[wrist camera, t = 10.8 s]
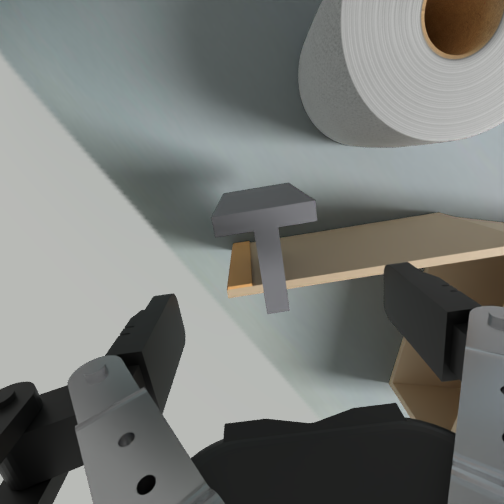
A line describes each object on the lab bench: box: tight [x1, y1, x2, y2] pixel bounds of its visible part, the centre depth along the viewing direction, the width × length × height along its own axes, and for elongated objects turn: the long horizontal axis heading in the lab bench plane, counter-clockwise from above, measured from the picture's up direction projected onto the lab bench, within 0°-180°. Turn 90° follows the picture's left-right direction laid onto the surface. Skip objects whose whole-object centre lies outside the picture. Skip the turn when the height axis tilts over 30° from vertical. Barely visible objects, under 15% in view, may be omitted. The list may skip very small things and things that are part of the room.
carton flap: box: [211, 183, 504, 314], centre depth 22 cm, size 20×6×14 cm, turn 99°
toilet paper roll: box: [298, 0, 504, 148], centre depth 19 cm, size 12×12×12 cm
